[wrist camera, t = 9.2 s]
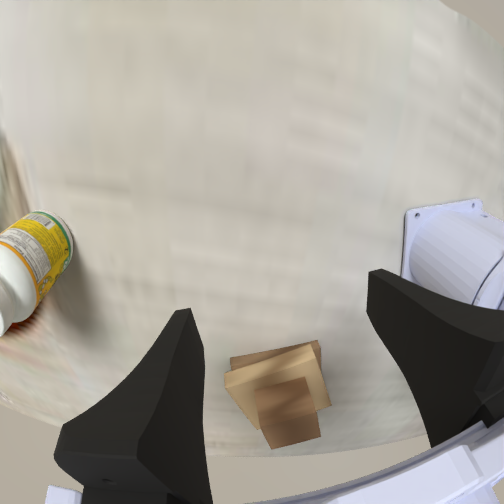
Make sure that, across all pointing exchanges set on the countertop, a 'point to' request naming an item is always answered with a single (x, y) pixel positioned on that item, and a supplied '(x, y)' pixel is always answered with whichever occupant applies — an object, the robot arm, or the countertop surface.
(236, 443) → the countertop surface
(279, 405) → the block
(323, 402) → the tile top
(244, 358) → the tile bottom
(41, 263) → the supplement bottle
